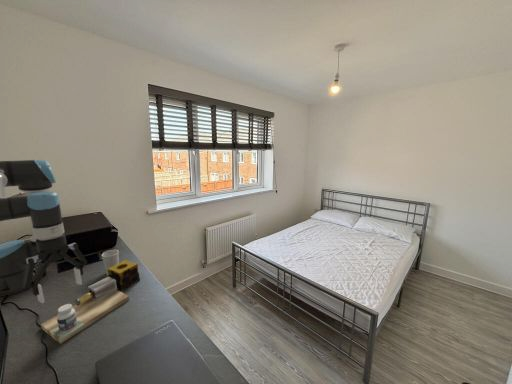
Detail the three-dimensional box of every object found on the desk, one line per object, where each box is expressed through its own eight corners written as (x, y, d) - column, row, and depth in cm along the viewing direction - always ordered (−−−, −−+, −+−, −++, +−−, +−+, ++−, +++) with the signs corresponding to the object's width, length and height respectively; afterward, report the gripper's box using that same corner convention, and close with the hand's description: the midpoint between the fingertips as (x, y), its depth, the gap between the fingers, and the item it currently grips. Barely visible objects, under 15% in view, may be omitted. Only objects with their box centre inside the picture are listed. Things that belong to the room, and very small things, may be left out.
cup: (112, 277, 117) (110, 257, 114) (100, 275, 118) (97, 255, 116) (124, 269, 124) (121, 250, 122) (112, 267, 126) (110, 249, 124)
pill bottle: (56, 330, 80) (51, 310, 78) (72, 320, 85) (68, 301, 83) (64, 335, 78) (60, 314, 76) (80, 324, 83) (77, 304, 81)
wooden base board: (41, 328, 83) (37, 311, 82) (110, 290, 106) (108, 276, 105) (61, 344, 77) (57, 326, 75) (130, 299, 100) (128, 285, 98)
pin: (75, 304, 92) (74, 298, 91) (95, 293, 99) (94, 287, 98) (79, 306, 90) (78, 300, 90) (99, 295, 97) (98, 289, 97)
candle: (140, 280, 114) (138, 263, 112) (122, 291, 105) (119, 273, 103) (128, 275, 119) (126, 259, 117) (109, 285, 110) (106, 268, 108)
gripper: (6, 252, 62) (22, 317, 66) (93, 227, 82) (101, 278, 87) (-4, 247, 65) (12, 309, 70) (82, 224, 85) (90, 273, 90)
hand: (61, 291), depth 78 cm, fingers open, 10 cm apart
